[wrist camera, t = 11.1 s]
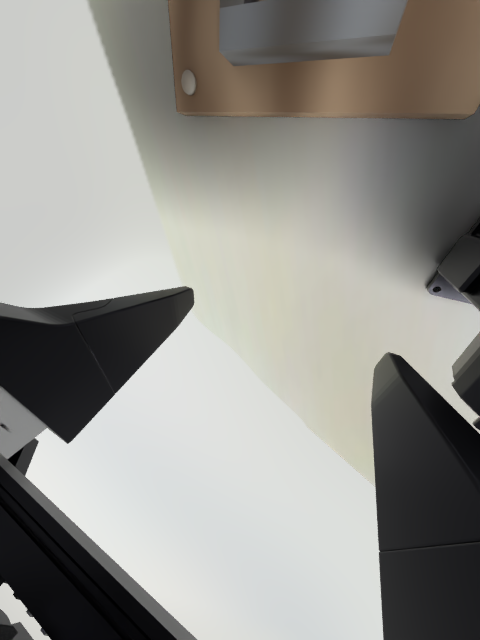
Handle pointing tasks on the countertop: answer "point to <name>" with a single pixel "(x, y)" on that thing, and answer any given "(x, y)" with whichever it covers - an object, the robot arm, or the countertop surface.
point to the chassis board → (326, 58)
